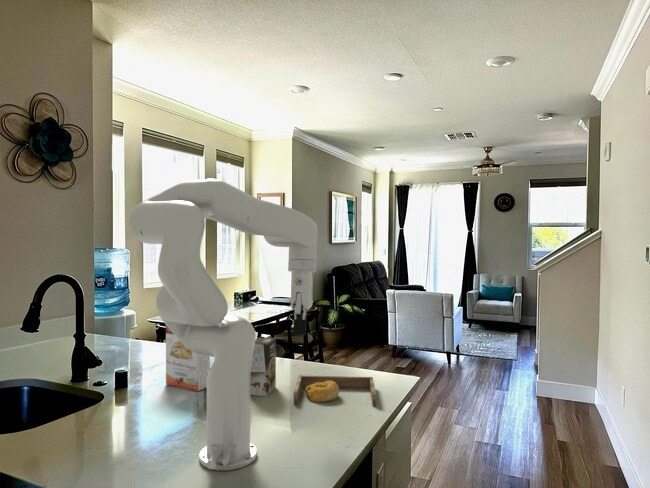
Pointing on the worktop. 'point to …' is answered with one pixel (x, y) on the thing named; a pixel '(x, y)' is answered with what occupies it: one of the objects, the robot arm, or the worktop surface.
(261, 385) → the coffee box
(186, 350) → the cracker box
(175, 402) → the worktop surface
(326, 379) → the box
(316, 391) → the bagel
